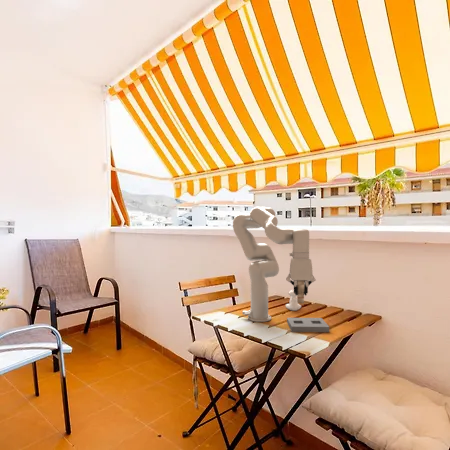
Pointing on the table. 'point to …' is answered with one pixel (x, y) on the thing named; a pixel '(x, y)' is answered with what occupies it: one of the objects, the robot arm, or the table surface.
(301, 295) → the birch peg
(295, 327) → the hole board
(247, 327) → the table surface
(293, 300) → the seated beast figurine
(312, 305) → the table surface
